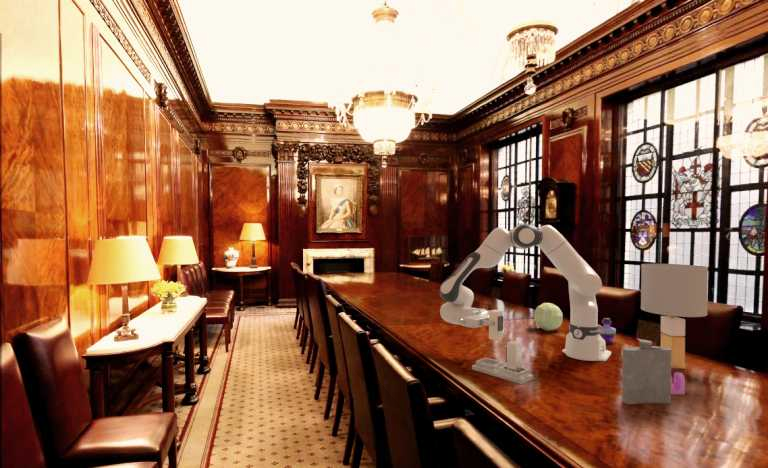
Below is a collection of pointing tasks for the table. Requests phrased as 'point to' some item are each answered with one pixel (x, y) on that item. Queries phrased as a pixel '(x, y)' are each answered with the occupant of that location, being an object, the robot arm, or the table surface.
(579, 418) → the table surface
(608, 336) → the potion bottle
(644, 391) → the hip flask
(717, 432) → the table surface
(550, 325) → the decorative sphere
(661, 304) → the lamp
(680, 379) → the bracket
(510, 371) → the pillar on stepped tray
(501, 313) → the loose rectangular block
